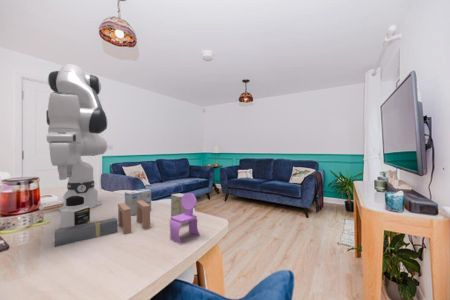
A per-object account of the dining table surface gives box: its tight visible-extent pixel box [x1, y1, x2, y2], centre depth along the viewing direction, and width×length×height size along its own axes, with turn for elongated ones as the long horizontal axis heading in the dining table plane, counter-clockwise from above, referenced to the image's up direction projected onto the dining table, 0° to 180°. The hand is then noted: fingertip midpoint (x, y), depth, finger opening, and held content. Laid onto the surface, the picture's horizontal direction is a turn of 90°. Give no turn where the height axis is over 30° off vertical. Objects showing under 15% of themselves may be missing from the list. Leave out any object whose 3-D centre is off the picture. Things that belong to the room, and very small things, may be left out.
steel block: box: [54, 217, 119, 248], centre depth 71 cm, size 4×18×5 cm, turn 128°
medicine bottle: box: [59, 195, 91, 228], centre depth 82 cm, size 7×7×12 cm
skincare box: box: [170, 192, 188, 227], centre depth 82 cm, size 6×4×12 cm
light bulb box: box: [124, 188, 152, 217], centre depth 99 cm, size 11×7×11 cm, turn 144°
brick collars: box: [117, 200, 151, 235], centre depth 80 cm, size 11×9×9 cm
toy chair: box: [169, 192, 201, 245], centre depth 70 cm, size 8×9×15 cm
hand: (66, 178), depth 68 cm, fingers open, 8 cm apart
